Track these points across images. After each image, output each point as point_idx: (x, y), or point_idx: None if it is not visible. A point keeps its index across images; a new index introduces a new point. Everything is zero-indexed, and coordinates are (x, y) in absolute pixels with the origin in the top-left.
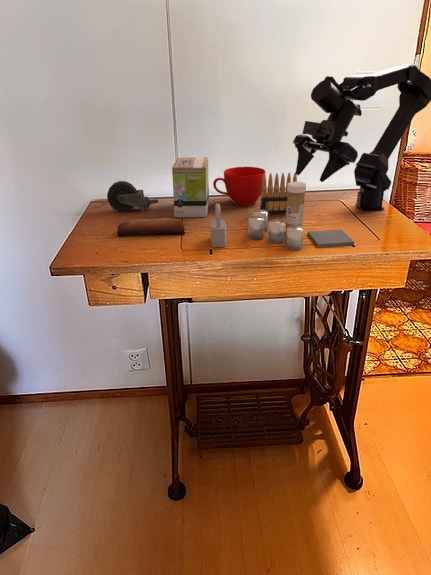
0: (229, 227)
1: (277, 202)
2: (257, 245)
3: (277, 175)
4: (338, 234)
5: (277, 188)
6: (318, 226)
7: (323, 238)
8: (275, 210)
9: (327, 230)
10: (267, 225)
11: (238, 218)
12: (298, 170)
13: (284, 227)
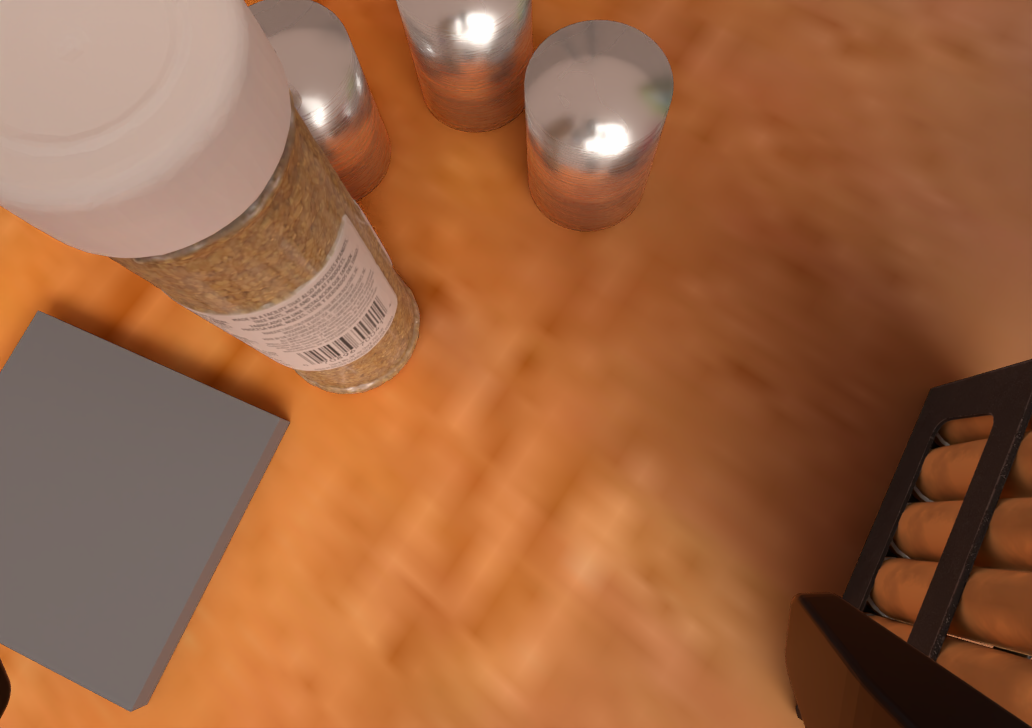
0: (755, 26)
1: (946, 531)
2: (343, 17)
3: None
4: (64, 589)
5: None
6: (377, 636)
7: (87, 418)
8: (900, 512)
9: (191, 578)
10: (544, 195)
11: (924, 176)
12: (836, 680)
13: None
